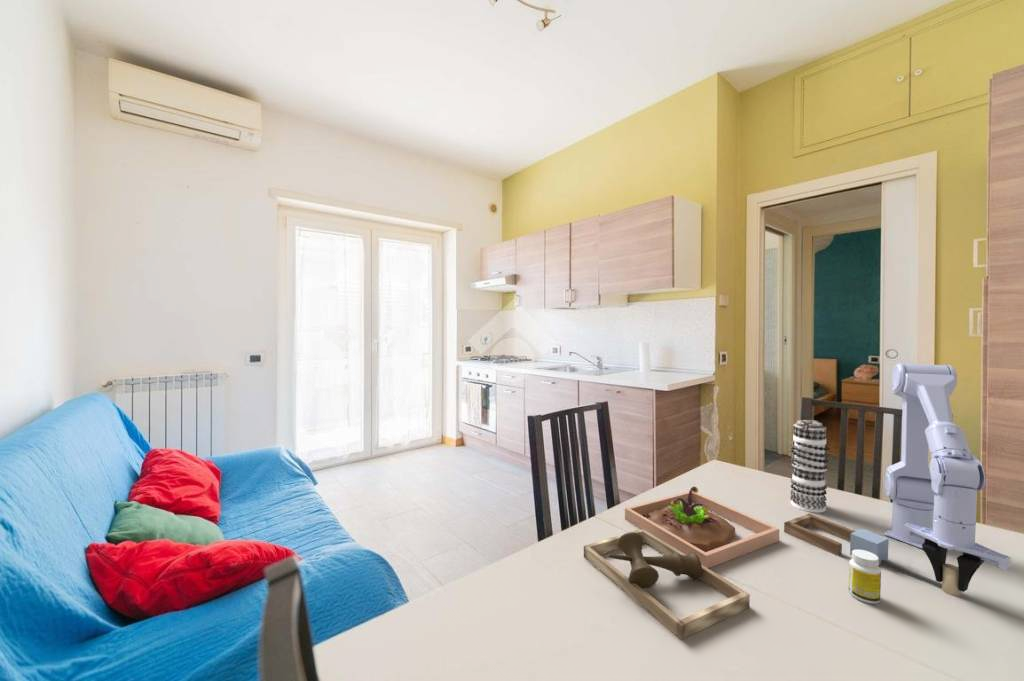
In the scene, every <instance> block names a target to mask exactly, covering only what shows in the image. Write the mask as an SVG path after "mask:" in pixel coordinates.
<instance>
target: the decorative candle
mask: <svg viewBox="0 0 1024 681" xmlns="http://www.w3.org/2000/svg"><path fill="white" fill-rule="evenodd" d="M792 426H793V428H794V429H793V437H792V439H793V440H792V441H791V442H790V452H791V453H792V454H791V455H790V459H791V460H790V461H791V462H790V464H791V466H792V467H793V470H792V471H793V472H792V478H791V480H790V482H791V484H790V488H791V489H790V494H791V495H790V496H789V497H790V504H791V505H792V506H793V507H794V508H796V509H799V510H802V511H804V512H810V513H819V514H820V513H824V512H826V511H827V508H826V507H827V502H826V501H827V496H826V495H827V494H828V493H827V489H828V486H827V485H826V477H825V476H826V471H827V470H828V466H827V465H825V464H827V463H829V460H828V459H827V458H828V457H829V454H828V453H827V451H830V448H829V445H830V443H829V442H830V441H827V438H826V437H827V429H828V428H827V426H824V425H823V423H822V422H820V421H818V420H813V419H799V420H797V421H796V422H795V423H793V424H792Z"/></svg>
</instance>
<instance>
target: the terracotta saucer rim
mask: <svg viewBox="0 0 1024 681" xmlns="http://www.w3.org/2000/svg"><path fill="white" fill-rule="evenodd" d="M688 494H689V491H685V492H682V493H679V494H678V493H677V494H674V495H670V496H666V497H662V498H658V499H655V500H651V501H647V502H643V503H639V504H636V505H632V506H627V507H625V508H624V519H625V520H626V521H627V522H629V523H631V524H633V525H634V526H636V527H638V528H639V529H645V530H646V531H648V532H649V533H651V534H653V535H654V536H656V537H657V538H659V539H661V540H662V541H664V542H666V543H667V544H669V545H670V546H672V547H674V548H675V549H677V550H679V551H680V552H682V553H683V554H685V555H688V554H689V553H690V552H694V553H695V554H697V556H698V557H699V559H700V561H701V565H703V566H705V567H706V568H708V569H709V568H712V567H715V566H717V565H721V564H722V563H726V562H728V561H730V560H733V559H737V558H738V556H739V557H742V556H744V555H746V553H747V554H750V553H752V552H754V551H757V550H760V549H762V548H765V547H767V546H770V545H772V544H775V543H778V542H780V528H778V527H776V526H773V525H771V524H770V523H767V522H765V521H762V520H760V519H757V518H756V517H753V516H750V515H748V514H747V513H746V514H745V513H744V512H741V511H739V510H737V509H736V508H735V509H734V508H732V507H730V506H728V505H725V504H723V503H721V502H719V501H716V500H714V499H712V498H710V497H707V496H705V495H703V494H701V493H698V492H697V493H694V492H693V491H692V495H691V496H692V497H691V498H692V503H693V504H694V503H699V502H700V503H703V504H705V505H706V506H707V507H708V511H709V512H711V513H713V514H716V513H717V514H716V515H717V516H720V515H721V516H720V517H722V516H723V517H722V518H724V519H727V520H729V521H731V522H734V523H736V524H737V525H740V526H742V527H744V528H746V529H748V530H751V531H752V532H755V533H756V534H753V535H750V536H747V537H744V538H742V539H738V540H736V541H733V542H730V543H729V544H727V545H724V546H722V547H719V548H716V549H713V550H711V551H708V552H704V551H702V550H701V549H699V548H697V547H695V546H694V545H692V544H690V543H688V542H687V541H685V540H683V539H682V538H680V537H678V536H676V535H675V534H673V533H671V532H669V531H668V530H666V529H664V528H663V527H661V526H659V525H657V524H656V523H654V522H652V521H650V520H649V519H648V518H647V517H646V516H648V515H649V513H652V512H654V510H661V509H663V508H665V507H667V506H670V505H671V502H672V501H674V500H675V499H677V498H682V499H684V500H685V502H686V503H687V498H688ZM676 503H677V504H678V505H680V500H677V502H676ZM700 506H701V505H698V507H700ZM647 514H648V515H647ZM643 515H645V516H643Z"/></svg>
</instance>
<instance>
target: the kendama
mask: <svg viewBox="0 0 1024 681" xmlns="http://www.w3.org/2000/svg"><path fill="white" fill-rule="evenodd" d="M621 535H622V536H621V537H620V538H619V540H618V547H619V550H620V551H621V552H622V553H623V554H613V553H611V554H608V555H607V558H609V559H613V560H620V561H625V562H629V564H630V567H631V568H630V572H629V574H628V578H629V579H628V581H629V583H635V584H637V585H638V586H639V587H640V588H642V589H643V590H645V589H649V588H651V587H652V586H655V585H656V583H657V582H658V581H659V578H660V575H659V571H658V570H657V569H656V568H659V569H660V568H661V569H664V570H668V571H670V572H672V573H673V574H674V576H676V577H680V576H681V575H685V576H688V577H690V579H691V580H693V581H696V580H699V579H700V578H699V577H700V576H701V573H702V565H701V561H700V559H699V557H698V556H697V554H695V553H694V552H690V553H689V554H688V555H680V554H679V553H678V552H673V553H672V554H671V555H669V556H665V555H663V556H644V554H643V545H644V542H643V537H642V536H641V535H640V534H638V533H635V532H633V531H629V532H625V533H622V534H621ZM654 567H656V568H654Z"/></svg>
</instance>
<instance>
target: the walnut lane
mask: <svg viewBox="0 0 1024 681" xmlns="http://www.w3.org/2000/svg"><path fill="white" fill-rule="evenodd" d="M809 527H812V528H815V529H818V530H820V531H822V532H825V533H828V534H830V535H832V536H834V537H837V538H839V539H842V540H844V541H847V542H850V538H851V533H853V532H856V531H857V530H855V529H851V528H849V527H846V526H844V525H840V524H838V523H835V522H832V521H831V520H827V519H824V518H822V517H819V516H817V515H815V514H811V513H807V514H804V515H801V516H798V517H796V518H793V519H790V520H787V521H784V523H783V532H784V533H785V534H787V535H790V536H793V537H795V538H796V539H798V540H801V541H803V542H806V543H808V544H811V545H813V546H815V547H817V548H820V549H822V550H824V551H827V552H829V553H832V554H833V555H836V556H840V555H842V553H843V552H842V551H843V549H842V548H843V543H841V542H840V541H836V540H834V539H832V538H829V537H827V536H826V535H823V534H820V533H817V532H815V531H812V530H810V529H807V528H809Z"/></svg>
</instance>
